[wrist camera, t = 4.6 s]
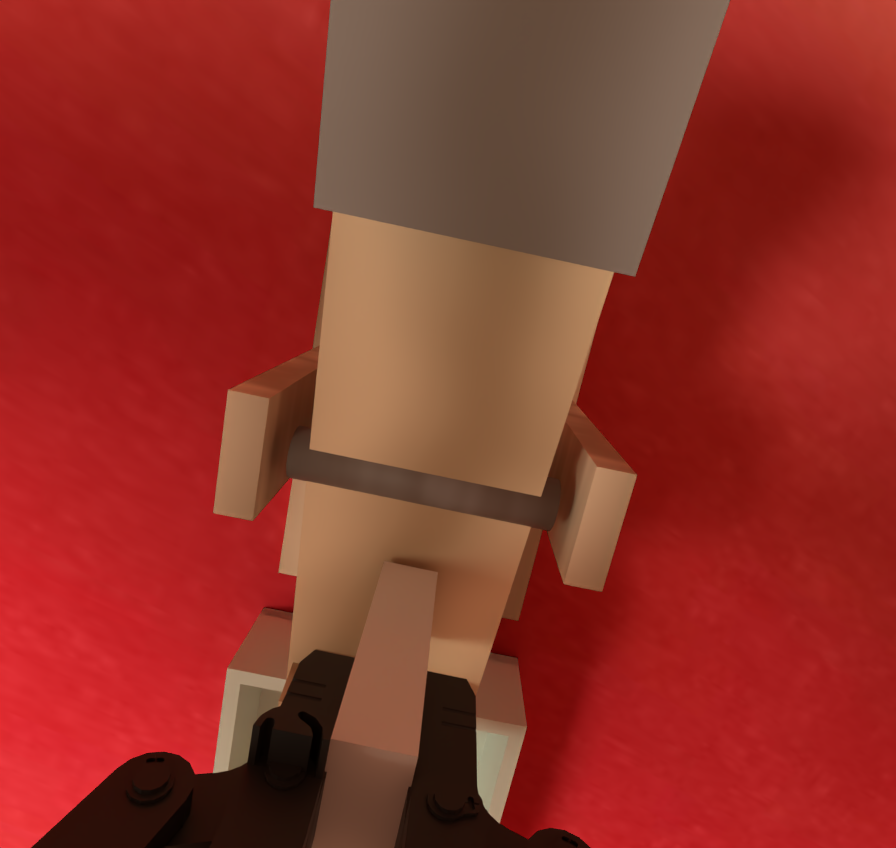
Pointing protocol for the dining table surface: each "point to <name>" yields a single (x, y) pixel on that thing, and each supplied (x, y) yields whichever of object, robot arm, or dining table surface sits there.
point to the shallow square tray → (265, 673)
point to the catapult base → (264, 473)
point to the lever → (470, 283)
